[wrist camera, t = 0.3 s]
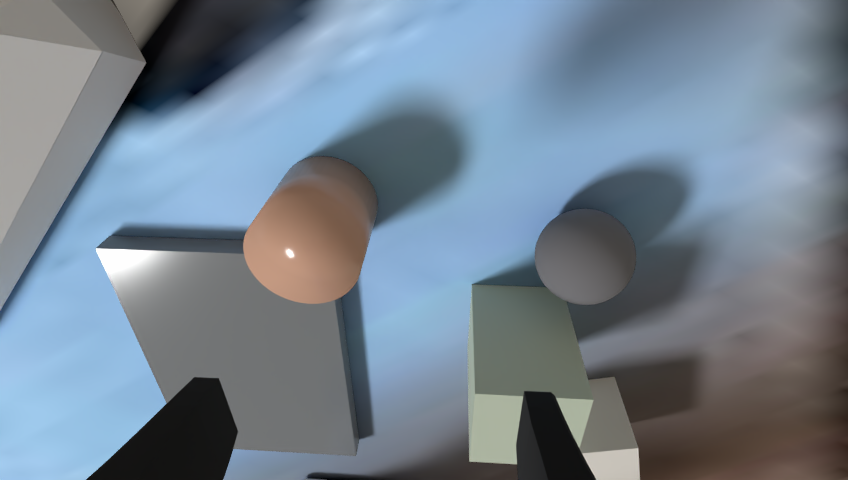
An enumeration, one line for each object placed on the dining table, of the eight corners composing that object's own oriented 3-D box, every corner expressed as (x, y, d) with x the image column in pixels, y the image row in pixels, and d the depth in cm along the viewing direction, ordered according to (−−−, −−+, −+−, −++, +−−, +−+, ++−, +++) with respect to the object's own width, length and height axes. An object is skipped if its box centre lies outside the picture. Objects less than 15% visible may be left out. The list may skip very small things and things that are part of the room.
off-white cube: (618, 424, 26) (640, 497, 23) (544, 432, 27) (555, 503, 24) (614, 375, 24) (638, 448, 21) (533, 385, 25) (544, 456, 22)
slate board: (359, 440, 28) (356, 455, 28) (194, 431, 29) (186, 446, 28) (334, 243, 21) (328, 256, 20) (109, 235, 21) (95, 248, 20)
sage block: (549, 351, 24) (573, 467, 19) (467, 347, 24) (469, 461, 19) (562, 287, 21) (593, 399, 16) (471, 284, 22) (475, 394, 17)
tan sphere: (380, 243, 21) (364, 306, 17) (288, 240, 21) (255, 301, 18) (375, 157, 18) (356, 209, 15) (272, 154, 19) (231, 205, 15)
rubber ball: (610, 267, 20) (635, 327, 18) (524, 265, 21) (535, 323, 18) (630, 192, 18) (662, 245, 16) (535, 190, 19) (549, 241, 16)
